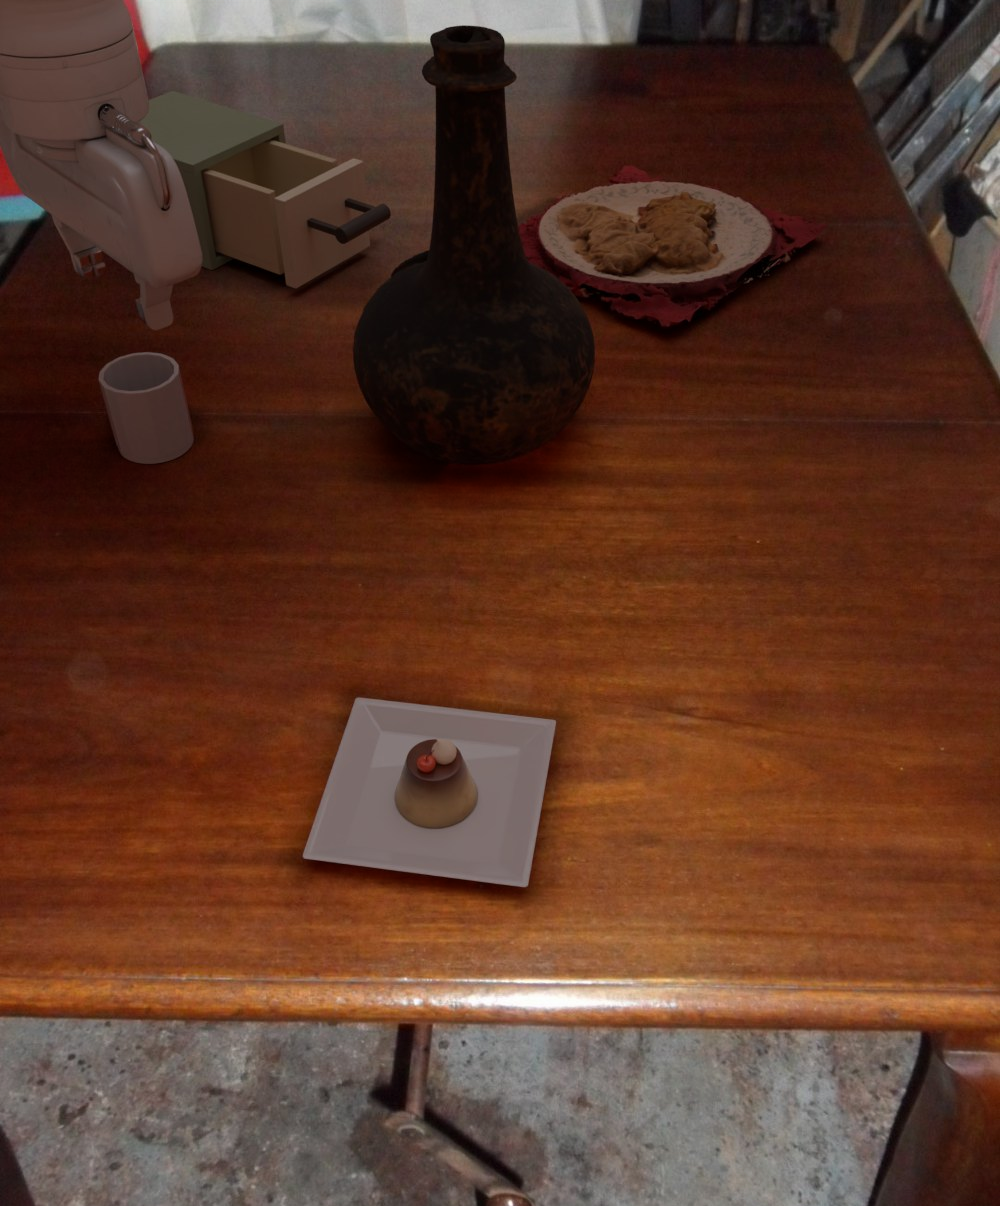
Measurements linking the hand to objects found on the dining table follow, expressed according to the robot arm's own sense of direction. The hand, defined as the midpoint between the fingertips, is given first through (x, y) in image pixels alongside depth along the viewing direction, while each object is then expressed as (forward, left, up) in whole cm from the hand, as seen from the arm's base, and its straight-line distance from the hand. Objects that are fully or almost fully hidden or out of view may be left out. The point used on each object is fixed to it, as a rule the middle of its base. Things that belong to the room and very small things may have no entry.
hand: (124, 298), depth 83 cm
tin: (0, 0, -12) cm, 12 cm away
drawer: (-11, +28, -11) cm, 32 cm away
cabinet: (-24, +28, -12) cm, 39 cm away
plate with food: (+14, +49, -12) cm, 52 cm away
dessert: (+39, -16, -12) cm, 44 cm away
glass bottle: (+19, +15, -12) cm, 27 cm away
